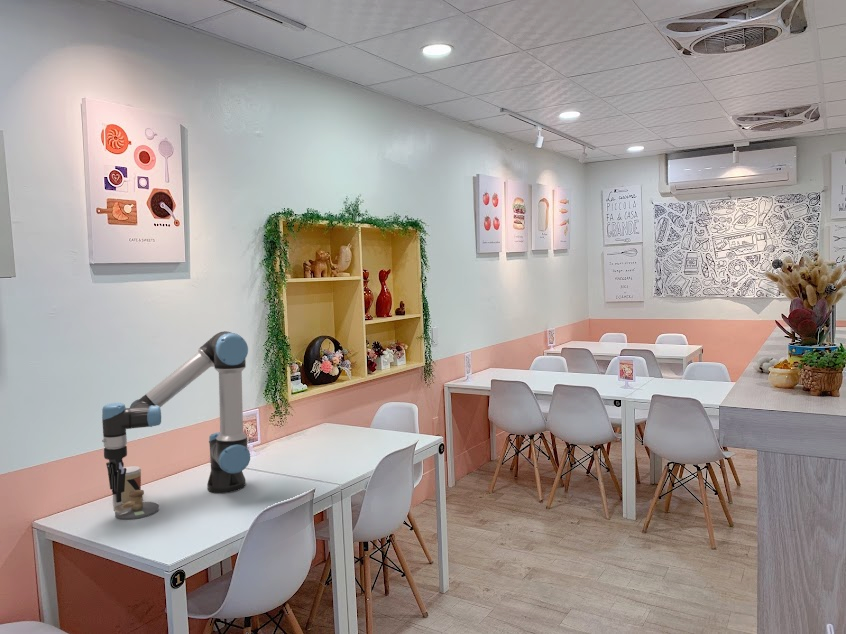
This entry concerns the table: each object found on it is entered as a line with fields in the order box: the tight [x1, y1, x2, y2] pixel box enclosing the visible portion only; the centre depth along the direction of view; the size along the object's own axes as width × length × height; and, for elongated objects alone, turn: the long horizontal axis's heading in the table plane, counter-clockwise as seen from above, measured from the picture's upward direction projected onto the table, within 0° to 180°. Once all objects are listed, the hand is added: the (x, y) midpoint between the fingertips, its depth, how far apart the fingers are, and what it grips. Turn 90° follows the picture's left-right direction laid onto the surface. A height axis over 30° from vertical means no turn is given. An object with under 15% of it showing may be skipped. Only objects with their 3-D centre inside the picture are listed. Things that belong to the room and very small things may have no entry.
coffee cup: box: [122, 465, 142, 504], centre depth 256 cm, size 9×9×12 cm
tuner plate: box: [114, 501, 160, 521], centre depth 242 cm, size 15×15×1 cm
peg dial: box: [114, 489, 145, 513], centre depth 239 cm, size 12×5×6 cm, turn 158°
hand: (118, 510), depth 236 cm, fingers closed
